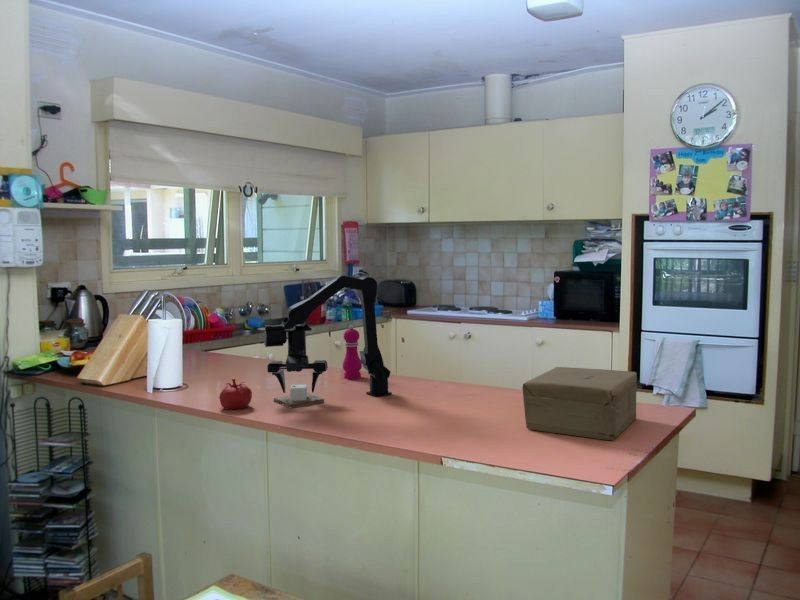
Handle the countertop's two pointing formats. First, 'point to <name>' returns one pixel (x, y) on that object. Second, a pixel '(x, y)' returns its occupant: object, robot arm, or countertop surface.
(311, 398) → the post stand
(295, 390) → the white cube
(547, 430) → the paper package
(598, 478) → the countertop surface
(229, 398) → the red tomato
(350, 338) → the pepper mill
